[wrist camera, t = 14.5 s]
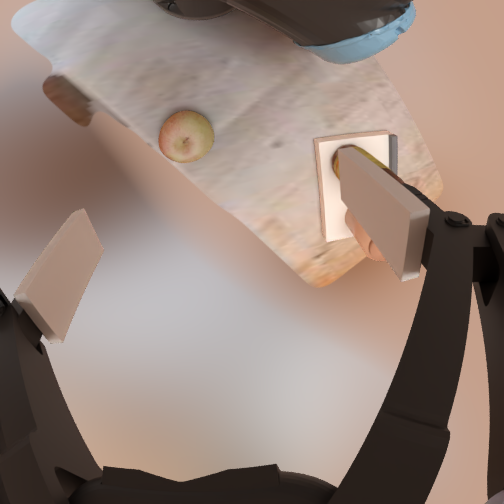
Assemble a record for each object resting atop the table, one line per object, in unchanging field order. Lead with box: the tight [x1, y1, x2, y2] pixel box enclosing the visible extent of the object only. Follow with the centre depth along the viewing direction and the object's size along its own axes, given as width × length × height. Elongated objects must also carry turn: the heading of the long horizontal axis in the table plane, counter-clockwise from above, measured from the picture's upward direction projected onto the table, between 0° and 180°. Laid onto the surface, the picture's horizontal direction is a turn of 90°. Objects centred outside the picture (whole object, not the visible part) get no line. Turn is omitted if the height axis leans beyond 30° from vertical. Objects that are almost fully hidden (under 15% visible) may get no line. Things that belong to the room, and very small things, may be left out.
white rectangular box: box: [314, 131, 398, 242], centre depth 47 cm, size 18×13×4 cm
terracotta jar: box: [345, 209, 386, 261], centre depth 45 cm, size 6×6×10 cm
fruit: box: [159, 111, 214, 163], centre depth 38 cm, size 8×7×8 cm
